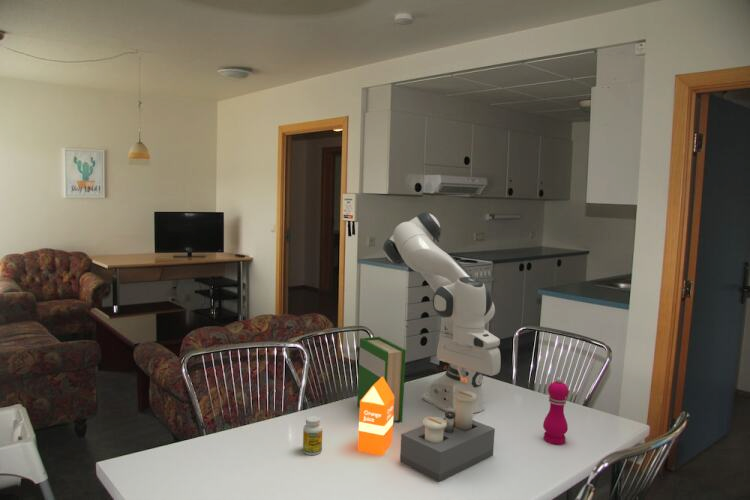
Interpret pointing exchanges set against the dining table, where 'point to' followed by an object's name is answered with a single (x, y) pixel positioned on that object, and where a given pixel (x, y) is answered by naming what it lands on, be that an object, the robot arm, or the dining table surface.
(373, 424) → the orange juice
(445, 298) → the robot arm
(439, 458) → the mount
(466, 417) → the cream lidded cup
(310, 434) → the supplement bottle
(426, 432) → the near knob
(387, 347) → the hardback book
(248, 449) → the dining table surface
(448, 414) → the small glass shaker
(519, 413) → the dining table surface
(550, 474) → the dining table surface
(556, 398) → the pepper mill
